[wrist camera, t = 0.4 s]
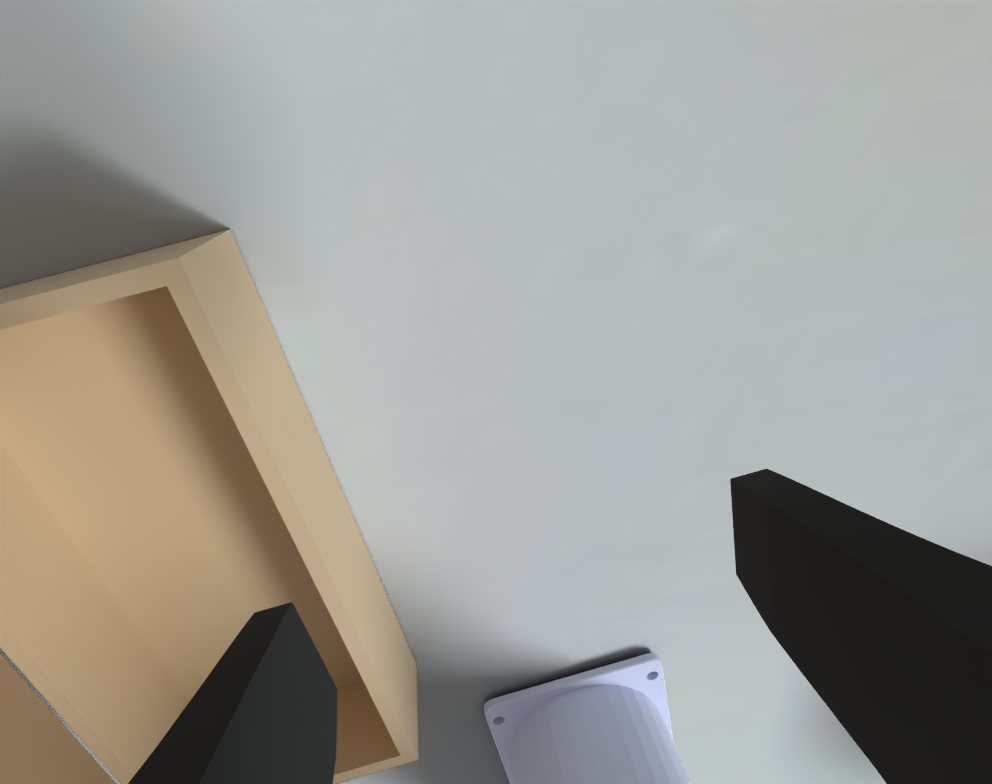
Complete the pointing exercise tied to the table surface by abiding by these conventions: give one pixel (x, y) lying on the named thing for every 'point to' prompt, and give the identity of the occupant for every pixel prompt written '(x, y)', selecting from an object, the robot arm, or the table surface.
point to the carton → (175, 507)
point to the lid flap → (38, 740)
